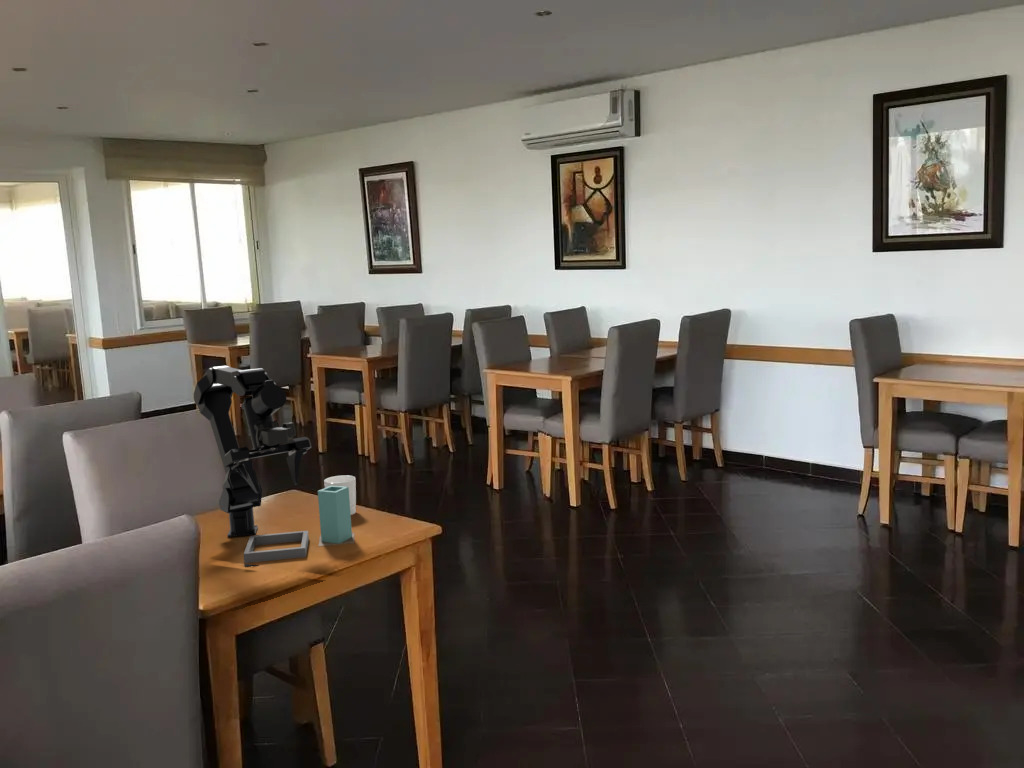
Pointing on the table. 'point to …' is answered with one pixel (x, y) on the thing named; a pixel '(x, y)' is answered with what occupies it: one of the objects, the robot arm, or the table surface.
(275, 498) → the table surface
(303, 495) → the table surface
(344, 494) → the sleeve
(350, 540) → the grey plate with post
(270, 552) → the tray
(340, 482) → the white cup
